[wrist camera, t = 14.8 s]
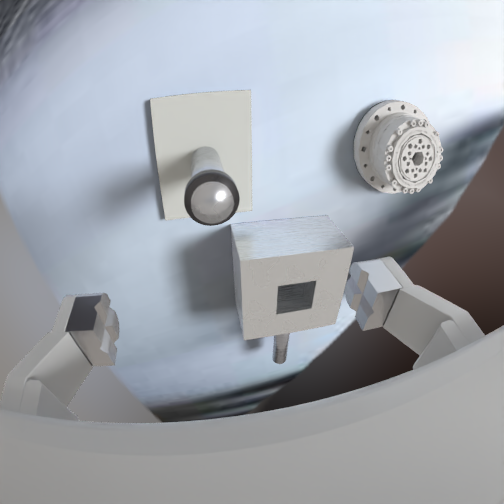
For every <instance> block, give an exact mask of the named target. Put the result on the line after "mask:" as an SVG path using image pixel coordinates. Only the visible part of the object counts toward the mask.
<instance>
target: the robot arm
mask: <svg viewBox="0 0 504 504" xmlns="http://www.w3.org/2000/svg"><path fill="white" fill-rule="evenodd" d="M349 272H350V274H351V276H352V277H351V278H350V279H349V280H348V281H347V283H346V287H345V295H346V300H347V303H348V304H349V306H350V308H352V309H353V310H355V311H356V316H355V317H356V319H357V321H358V323H359V325H360V326H361V328H362V330H363V331H364V330H368V329H373V328H377V327H382V326H383V328H385V329H386V330H387V331H389V332H390V333H391V334H393V335H394V336H395V337H397V338H398V339H399V340H400V341H402V342H403V343H404V344H406V345H407V346H408V347H410V348H411V349H412V350H413V351H415V352H416V353H417V354H419V355H420V357H419V358H418V360H417V361H416V362H415V364H414V366H413V369H414V370H412V371H409V372H406V373H404V374H401V375H399V376H396V377H393V378H390V379H388V380H385V381H382V382H379V383H376V384H373V385H370V386H367V387H364V388H361V389H357V390H354V391H351V392H347V393H344V394H340V395H337V396H333V397H330V398H326V399H322V400H318V401H314V402H310V403H305V404H301V405H297V406H292V407H288V408H282V409H277V410H272V411H267V412H261V413H255V414H249V415H242V416H235V417H227V418H219V419H210V420H199V421H186V422H169V423H102V422H87V421H79V418H78V417H77V416H76V415H75V414H74V413H73V412H72V411H71V410H70V409H69V408H67V406H68V405H69V403H70V402H71V400H72V399H73V397H74V396H75V394H76V392H77V391H78V389H79V388H80V386H81V385H82V383H83V382H84V380H85V379H86V377H87V376H88V374H89V373H90V371H91V370H92V368H93V367H92V366H112V365H115V361H116V353H117V348H116V346H115V344H114V343H115V341H116V340H117V339H118V338H119V321H118V317H117V315H116V312H115V311H114V310H113V309H112V308H110V307H109V306H110V299H109V297H108V295H107V294H106V293H92V294H78V295H66V296H65V297H64V298H63V300H62V303H61V306H60V309H59V312H58V314H57V318H56V320H55V323H54V326H53V329H52V332H48V333H47V334H46V335H45V336H44V337H43V338H42V339H41V340H40V341H39V342H38V343H37V344H36V345H35V347H33V348H32V349H31V351H29V353H28V354H27V355H26V356H25V357H24V358H23V359H22V360H21V361H20V362H19V363H18V364H17V365H16V366H15V368H14V369H13V370H12V371H11V372H10V373H9V374H8V375H7V378H6V382H5V385H4V389H3V393H2V397H1V401H0V504H504V326H502V327H500V328H498V329H497V330H495V331H493V332H491V333H490V334H488V335H486V336H485V335H484V334H483V332H482V331H481V329H480V328H479V327H478V325H477V324H476V323H475V321H474V320H473V318H472V317H471V316H470V315H469V313H468V312H467V311H465V310H463V309H461V308H460V307H458V306H456V305H454V304H452V303H451V302H449V301H447V300H445V299H443V298H441V297H440V296H437V295H436V294H434V293H432V292H430V291H428V290H426V289H424V288H423V287H421V286H418V285H415V286H414V285H413V283H412V282H411V280H410V279H409V278H408V277H407V275H406V274H405V273H404V272H403V270H402V269H401V268H400V267H399V265H398V264H397V263H396V262H395V260H394V259H393V258H391V257H385V258H380V259H375V260H368V261H362V262H356V263H353V264H352V265H351V268H350V271H349Z"/></svg>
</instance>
